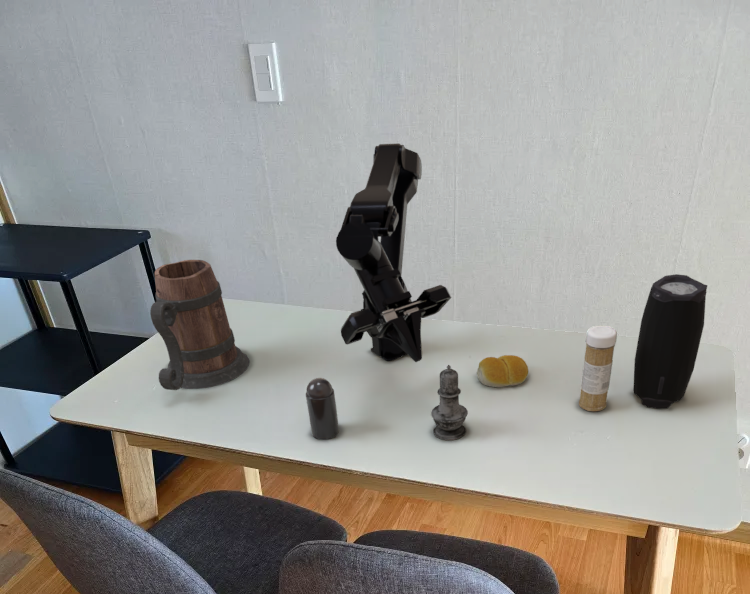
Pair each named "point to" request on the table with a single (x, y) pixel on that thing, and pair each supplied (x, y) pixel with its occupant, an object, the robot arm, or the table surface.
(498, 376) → the bread roll
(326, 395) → the pepper pot
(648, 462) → the table surface
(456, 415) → the grey turned piece
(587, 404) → the sprinkles bottle
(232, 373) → the tankard
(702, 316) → the portable speaker
